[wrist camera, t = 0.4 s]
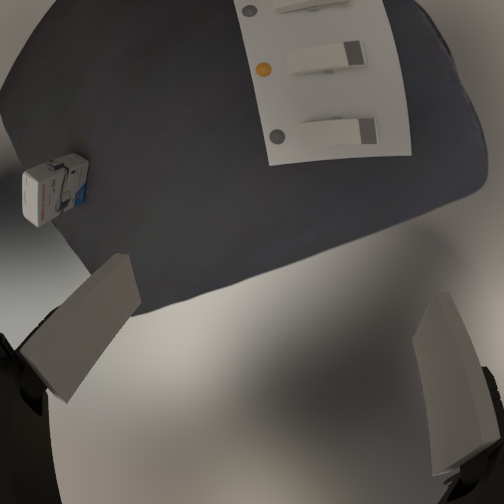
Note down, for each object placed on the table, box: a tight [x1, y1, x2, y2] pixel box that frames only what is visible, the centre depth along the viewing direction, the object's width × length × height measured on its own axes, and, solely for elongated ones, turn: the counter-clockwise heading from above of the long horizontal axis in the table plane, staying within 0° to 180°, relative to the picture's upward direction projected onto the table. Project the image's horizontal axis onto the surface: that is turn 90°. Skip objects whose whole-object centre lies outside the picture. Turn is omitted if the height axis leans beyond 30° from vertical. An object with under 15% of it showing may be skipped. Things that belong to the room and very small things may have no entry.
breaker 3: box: [300, 118, 380, 147], centre depth 25 cm, size 3×8×2 cm, turn 102°
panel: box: [234, 0, 412, 166], centre depth 24 cm, size 23×17×4 cm
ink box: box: [22, 153, 89, 227], centre depth 36 cm, size 9×5×12 cm, turn 156°
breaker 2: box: [285, 41, 368, 75], centre depth 22 cm, size 3×8×2 cm, turn 102°
